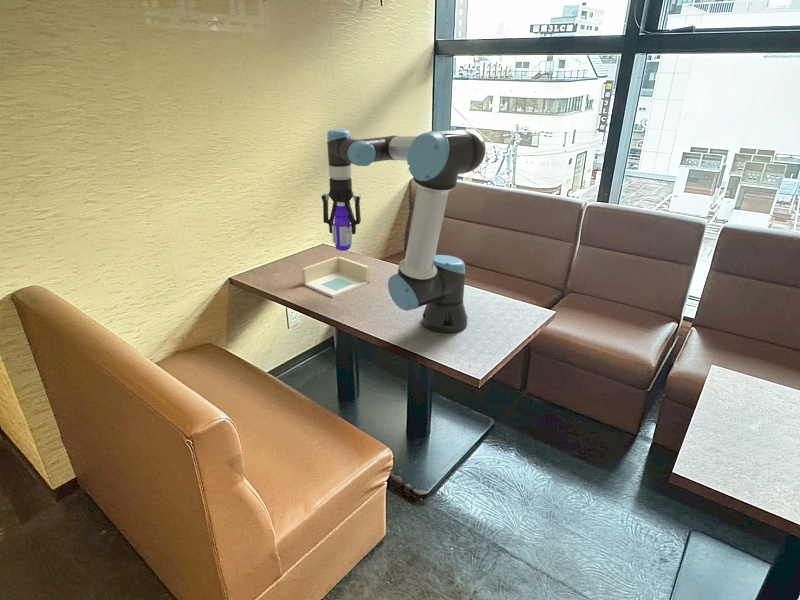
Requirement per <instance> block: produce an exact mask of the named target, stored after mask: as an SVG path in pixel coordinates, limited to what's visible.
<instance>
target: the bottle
mask: <svg viewBox="0 0 800 600" xmlns="http://www.w3.org/2000/svg"><path fill="white" fill-rule="evenodd" d="M334 215H335V217H334V222H333V223H334V225H335V243H334V246H335V247H334V248H335V249H336V250H337V251H345V252H346V251H348V250H350V249H351V246H352V244H350V231H349V226H350V224H351V222H350V219H349V214H348V212H347V209H346V208H345V203H344V202H337V205H336V210H335V213H334Z"/></svg>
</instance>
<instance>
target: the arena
mask: <svg viewBox="0 0 800 600" xmlns="http://www.w3.org/2000/svg"><path fill="white" fill-rule="evenodd" d="M301 272H302V274H301V275H302V283H303V286H305V287H307V288H310V289H312V290H314V291H316V292H319V293H322V294H323V295H326V296H328V297H330V298H332V299H333V298H336V297H339V296H341V295H343V294H346V293H348V292H350V291H353V290H356V289H358V288H361V287H363V286H365V285H368V284H370V266H368V265H366V264H364V263H363V264H362V263H360V262H357V261H354V260H351V259H349V258H347V257H342V256H340V255H337V256H334V257H331V258H329V259H326V260H323V261H319V262H317V263H314V264H310V265H308V266H306V267H303V268H301Z"/></svg>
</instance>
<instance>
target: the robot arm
mask: <svg viewBox="0 0 800 600" xmlns="http://www.w3.org/2000/svg"><path fill="white" fill-rule="evenodd" d="M326 137H327V141H326V145H327V160H328V176H329V177H330V178H329V182H328V183H329V192H328V193H323V194H322V195H321V197H320V198H321V199H322V206H323V207H322V210H323V213H322V214H323V215H322V216H323V223H324V224H327V225H328V231H329V233H330V234H332V235H331V236H332V237H331V238H332V244H335V225H334V220H335V215H334V213H335V210H336V205H337V202H344V203H345V208H346V209H347V212H348V214H349V219H350V226H349V231H350V244H351V245H353V243H354V235H356V233H357V226H356V225H360V223H361V221H362V219H361V204H360V201H361V198H362V196H361V194H355V193H354V191H353V187H352V186H353V185H352V181H353V179H352V165H354V166H357V167H368V166H370V165H371V164H372V163H378V162H384V161H385V162H387V161H403V162H405V161H406V162H407V165H408V166H409V167H408V171H409V173H410V174H411V176H412V178H413V179H412V181H413V182H414V183H415V185H416V186H417V187H416V191H415V192H416V193H415V198H414V205H413V211H412V217H411V222H410V223H411V224H410V228H409V235H408V240H407V246H406V252H405V258H404V259H402V260H401V261H400V262H399V264H398V267H397V268H398V269H397V273H395V274H392V276H390V277H389V278H388V280H387V289H388V293H389V296H390V297H391V300H392V301H393V303H394V305H396V306H397V307H398V308H399V309H401V310H403V311H411V310H416V309H418V308H421V307H423V306H425V308H424V310H423V313H422V316H421V317H422V318H421V321H422V322H421V323H422V325H423V327H425V328H426V329H427V330H429V331H431V332H435V333H443V334H453V333H457V332H461V331H462V330H464V329H466V327H467V326H468V315H467V311H466V307H465V304H464V293H465V284H466V283H465V281H466V279H465V278H466V263H465V262H464V261H463V260H462V259H461V258H459V257H456V256H453V255H446V254H436V253H437V249H438V243H439V239H440V235H441V230H442V225H443V221H444V217H445V210H446V205H447V202H448V197H449V196H448V195H449V192H451V191H452V190H454V189H455V188H456V186H457V181H458V177H459V175H461V174H466V173H470V172H472V171H475V170H476V169H477V168H479V167H480V166H481V164H482V163H483V161H484V159H485V156H486V142H485V139H484V138H483V137H482V135H481V134H480V133H478V131H476V130H474V129H472V128H467V127H466V128H465V127H463V128H462V127H461V128H454V129H445V130H430V131H428V132H424V133H420V134H419V135H405V136H403V135H402V136H401V135H389V136H381V137H371V138H362V139H356V138H355V139H354V138H351V132H350V131H349V130H348V129H342V128H341V129H340V128H338V129H335V128H333V129H330V130H328V132H327V136H326ZM352 198H353V201H354V208H355V210H354V211H355V215H354V212H353V209H352V206H351V199H352ZM329 199H331V200H332V208H331V211H330V216H329Z"/></svg>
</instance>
